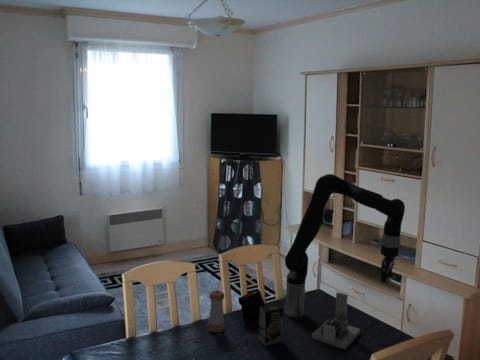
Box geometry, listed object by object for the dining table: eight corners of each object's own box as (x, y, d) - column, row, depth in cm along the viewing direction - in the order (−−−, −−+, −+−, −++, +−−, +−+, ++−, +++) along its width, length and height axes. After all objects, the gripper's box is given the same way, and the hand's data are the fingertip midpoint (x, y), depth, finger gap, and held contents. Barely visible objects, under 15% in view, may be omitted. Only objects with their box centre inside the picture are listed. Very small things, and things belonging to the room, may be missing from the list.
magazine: (272, 317, 232) (259, 291, 229) (247, 328, 232) (234, 303, 229) (270, 313, 236) (258, 288, 233) (246, 325, 236) (234, 299, 232)
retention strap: (334, 318, 222) (335, 292, 220) (335, 317, 223) (336, 291, 221) (345, 321, 219) (347, 296, 217) (346, 320, 220) (348, 295, 218)
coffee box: (265, 346, 209) (266, 312, 206) (258, 339, 214) (259, 306, 211) (282, 341, 213) (284, 308, 210) (275, 335, 218) (276, 302, 215)
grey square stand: (311, 338, 216) (312, 320, 215) (328, 323, 231) (329, 306, 229) (344, 349, 207) (346, 331, 206) (360, 333, 222) (361, 316, 220)
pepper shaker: (212, 333, 218) (213, 294, 215) (206, 327, 224) (206, 288, 221) (226, 330, 222) (227, 291, 218) (219, 323, 228) (220, 286, 225)
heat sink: (320, 333, 217) (321, 325, 216) (328, 326, 223) (328, 318, 222) (341, 340, 211) (341, 332, 210) (348, 333, 217) (348, 325, 217)
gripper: (385, 238, 216) (381, 272, 219) (377, 246, 204) (373, 282, 207) (402, 242, 212) (398, 276, 215) (395, 250, 200) (390, 286, 203)
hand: (386, 279), depth 211 cm, fingers open, 8 cm apart
